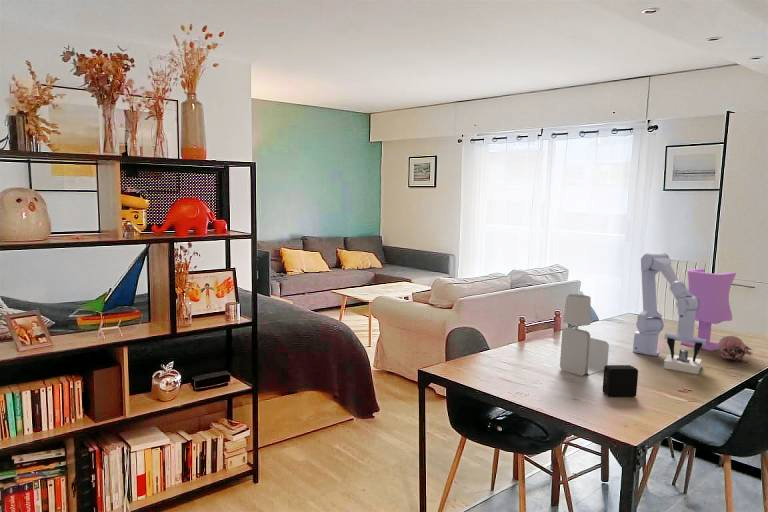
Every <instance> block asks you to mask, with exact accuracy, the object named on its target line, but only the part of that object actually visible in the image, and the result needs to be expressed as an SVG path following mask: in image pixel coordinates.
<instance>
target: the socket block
mask: <svg viewBox="0 0 768 512" xmlns="http://www.w3.org/2000/svg"><path fill="white" fill-rule="evenodd" d="M701 367H702V359H701V358H696V359H695V362H694V361H693V357H691V356H690V357H688V358H687V362H683V361H679V354H678V355H677V354H674V357H673V358H671V353H668V354H667V356H666V357H665V359H664V360H663V368H664V369H667V370H668V369H669V370H673V371H678V372H684V373H690V374H694V375H695V374H696V375H699V373H700V370H701Z"/></svg>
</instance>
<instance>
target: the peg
mask: <svg viewBox="0 0 768 512" xmlns="http://www.w3.org/2000/svg"><path fill="white" fill-rule="evenodd" d="M678 356H679V361H683V362H687V358H688V356H689V350H687V349H683V348H681V349H679V354H678Z"/></svg>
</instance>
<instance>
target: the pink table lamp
mask: <svg viewBox="0 0 768 512" xmlns="http://www.w3.org/2000/svg"><path fill="white" fill-rule="evenodd" d="M686 273H687V280H688V290H689V292H690V293H691V294H692V295H693V296H696V297H697V298H698V299H699V301H700V307H699V309H698V310H696V314H695V322H696V321H697V322H698V330H697V338H700V339H706V345H702V347H701V349H700V350H703V351H704V350H705V351H707V350H708V352H711V351H712V352H714V351H719V349H718V343H719V342H715V341H711V335H712V334H711V333H712V324H713V325H717V324H721V323H723V322H730V321H733V313H732V310H731V307H730V289H731V288H732V287H731V286H732V284H733V282H734V280H735V277H736V275H737V272H724V273H710V272H705V268H695V269H694V268H692V269H687V270H686ZM680 345H682V346H687V347H691V348H694V345H695V343H690V342H684V341H680Z"/></svg>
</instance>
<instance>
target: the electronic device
mask: <svg viewBox="0 0 768 512" xmlns="http://www.w3.org/2000/svg"><path fill="white" fill-rule="evenodd" d="M602 377H603V378H602V393H603V394H604V395H606V396H607V397H609V398H636V396H637V393H638V392H637V390H638V380H639V379H638V378H639V370H638V368H637V367H634V366H632V365H630V364H625V365H624V364H621V365H620V364H618V365H617V364H616V365H615V364H612V365H611V364H610V365H609V364H607V365H606V366H605V367H604V370H603V376H602Z"/></svg>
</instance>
